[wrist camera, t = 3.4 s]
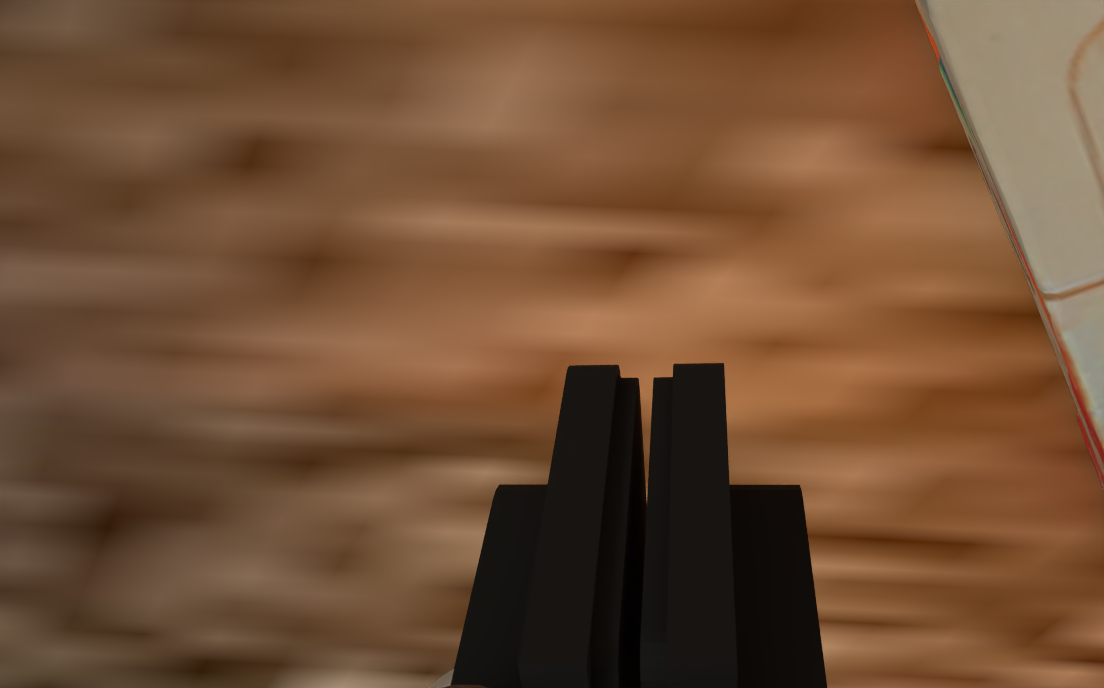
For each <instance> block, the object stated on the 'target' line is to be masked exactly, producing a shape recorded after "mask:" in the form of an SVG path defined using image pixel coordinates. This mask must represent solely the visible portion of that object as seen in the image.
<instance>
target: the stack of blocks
mask: <svg viewBox="0 0 1104 688" xmlns="http://www.w3.org/2000/svg"><path fill="white" fill-rule="evenodd" d="M915 2H916V5H917V8H918V11H919V14H920V16H921V19H922V22H923V24H924V27H925V29H926V32H927V34H928V37H929V39H930V42H931V45H932V47H933V50H934V52H935V55H936V57H937V60H938V63H939V70H940V72H941V74H942V77H943V79H944V82H945V84H946V87H947V89H948V92H949V94H950V97H951V99H952V101H953V104H954V106H955V109H956V111H957V114H958V116H959V119H960V121H961V124H962V126H963V128H964V131H965V134H966V136H967V138H968V141H969V143H970V146H971V148H972V151H973V153H974V155H975V158H976V160H977V163H978V165H979V168H980V170H981V173H982V175H983V178H984V180H985V183H986V185H987V188H988V190H989V193H990V195H991V198H992V200H993V202H994V205H995V207H996V210H997V212H998V215H999V217H1000V220H1001V222H1002V225H1003V227H1004V230H1005V232H1006V234H1007V236H1008V238H1009V241H1010V243H1011V245H1012V247H1013V249H1014V252H1015V254H1016V256H1017V258H1018V261H1019V263H1020V265H1021V267H1022V269H1023V271H1024V274H1025V277H1026V279H1027V282H1028V284H1029V287H1030V289H1031V292H1032V295H1033V297H1034V300H1035V302H1036V305H1037V308H1038V310H1039V313H1040V315H1041V318H1042V321H1043V323H1044V326H1045V328H1046V331H1047V333H1048V336H1049V338H1050V341H1051V344H1052V346H1053V349H1054V351H1055V354H1056V356H1057V359H1058V361H1059V364H1060V367H1061V369H1062V372H1063V374H1064V377H1065V379H1066V382H1067V384H1068V387H1069V390H1070V392H1071V395H1072V397H1073V400H1074V402H1075V405H1076V407H1077V410H1078V412H1079V413H1078V415H1077V420H1078V423H1079V425H1080V428H1081V431H1082V434H1083V437H1084V440H1085V443H1086V445H1087V448H1088V450H1089V453H1090V455H1091V458H1092V461H1093V463H1094V466H1095V468H1096V471H1097V474H1098V476H1099V479H1100V482H1101V485H1102V487H1103V490H1104V0H915Z"/></svg>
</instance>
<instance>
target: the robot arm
mask: <svg viewBox="0 0 1104 688" xmlns="http://www.w3.org/2000/svg"><path fill="white" fill-rule="evenodd" d="M443 688H827V682H826V675H825V667H824V659H823V651H822V643H821V636H820V628H819V620H818V612H817V605H816V597H815V589H814V581H813V573H812V566H811V558H810V550H809V542H808V534H807V527H806V519H805V511H804V503H803V497H802V491H801V487H800V485H729V465H728V443H727V420H726V397H725V375H724V363H703V364H674V365H673V377H659V378H654V381H653V400H652V419H651V439H650V458H649V478H648V498H647V500H646V484H645V468H644V452H643V436H642V420H641V404H640V388H639V379H638V378H621V376H620V369H619V366H618V365H576V366H569V367H568V369H567V374H566V380H565V385H564V391H563V397H562V403H561V409H560V415H559V421H558V427H557V433H556V439H555V445H554V450H553V456H552V462H551V468H550V474H549V480H548V485H499V486H498V488H497V489H496V492H495V495H494V498H493V502H492V506H491V510H490V515H489V519H488V523H487V528H486V532H485V536H484V541H483V545H482V550H481V554H480V558H479V563H478V567H477V571H476V576H475V580H474V584H473V589H472V593H471V597H470V602H469V606H468V611H467V615H466V619H465V624H464V628H463V632H462V637H461V641H460V645H459V650H458V654H457V658H456V663H455V667H454V672H453V676H452V680H451V685H450V686H447V687H443Z"/></svg>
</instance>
